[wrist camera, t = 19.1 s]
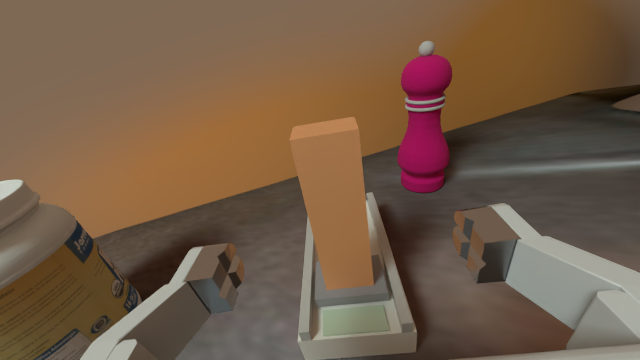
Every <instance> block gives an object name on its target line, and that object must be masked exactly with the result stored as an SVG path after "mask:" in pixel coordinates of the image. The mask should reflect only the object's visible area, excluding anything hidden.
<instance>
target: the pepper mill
mask: <svg viewBox="0 0 640 360" xmlns="http://www.w3.org/2000/svg"><path fill="white" fill-rule="evenodd" d="M434 49H435V46H434V44H433V43H432V42H430V41H425V42H424V43H422V44H421V46H420V47H419V54H420V55H421V56H420V57H417V58H415V59H413V60H412V61H410V62H409V63H408V64H407V65H406V67H405V68H404V70H403V73H402V77H401V85H402V88H403V90H404V91H405V92H406V93H407V95H408V97H406V98H405V101H406V105H405V108H406V109H407V110H408V113H409V121H408V128H407V132H406V134H405V136H404V139H403V141H402V143H401V145H400V148H399V151H398V164H399V166H400V167H401V168H402V169H403V170H402V172H401V183H402V185H403V186H404V187H405V188H406V189H408V190H410V191H413V192H417V193H429V192H434V191H436V190H439V189H440V188H441V187H442V186H443V183H444V172H443V170H444V169H445V168H446V167H447V165H448V163H449V149H448V145H447V143H446V141H445V138H444V136H443V133H442V130H441V125H440V115H441V108H442V107H443V106H445V98H446V95H445V94H444V93H443V92H444V90H445V89H446V88H447V87H448V86H449V84H450V82H451V79H452V68H451V65H450V63H449V62H448V60H447V59H445V58H444V57H442V56H439V55H432V54H433V52H434Z"/></svg>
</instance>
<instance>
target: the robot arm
mask: <svg viewBox="0 0 640 360" xmlns="http://www.w3.org/2000/svg"><path fill="white" fill-rule="evenodd" d="M454 220H455V222H456V223H457V226H456V227H455V228H454V229H453V241H454V245H455V248H456V250H457V252H458V253H459V255H460V256H461V257H463V258H464V259H466V260H467V266H466V267H467V268H468V270H469V272H470V273H471V275H472V276H473V278H474V280H475V281H476V283H477V284H478V283H490V282H501V281H506V282H505V283H507V284H508V285H510V286H511V287H512V288H514V289H515V290H517V291H518V292H520V293H521V294H523V295H524V296H525V297H527V298H528V299H530V300H531V301H533V302H534V303H535V304H537V305H538V306H540V307H541V308H543V309H544V310H546V311H547V312H548V313H550V314H551V315H553V316H554V317H556V318H557V319H558V320H560V321H561V322H563V323H564V324H566V325H567V326H568V327H570V328H571V329H573V330H574V332H573V334H572V336H571V337H570V339H569V341H568V342H567V345H566V349H567V350H561V351H549V352H536V353H524V354H512V355H500V356H487V357H475V358H462V359H450V360H640V273H639V272H636V271H634V270H631V269H629V268H626V267H623V266H621V265H618V264H616V263H613V262H611V261H608V260H606V259H603V258H601V257H598V256H596V255H593V254H591V253H588V252H586V251H583V250H581V249H578V248H576V247H573V246H571V245H568V244H566V243H563V242H561V241H558V240H556V239H553V238H551V237H548V236H544V237H542V236H541V235H540V234H539V233H537V232H536V231H535V230H534V229H533V228H532V227H531V226H530V225H529V224H528V223H527V222H526V221H525V220H524V219H522V218H521V217H520V216H519V215H518V214H517V213H516V212H515V211H514V210H513V209H512V208H511V207H510V206H509V205H507V204H504V203H502V204H496V205H489V206H484V207H478V208H471V209H464V210H457V211H456V213H455V216H454ZM235 252H236V248H235V247H234V245H233V244H232V243H225V244H217V245H208V246H202V247H193V248H192V249H190V250H189V252H188V253H187V255H186V257H185V258H184V260H183V262H182V263H181V265H180V266H179V268H178V270H177V271H176V273H175V275H174V276H173V278H172V280H171V281H170V283H169V284H167V285H164V286H163V287H161V288H160V289H159V290H157V291H156V292H155V293H154V294H152V295H151V296H150V297H149V298H147V299H146V300H145V301H144V302H142V303H141V304H140V305H139V306H137V307H136V308H135V309H134V310H132V311H131V312H130V313H129V314H127V315H126V316H125V317H124V318H122V319H121V320H120V321H119V322H117V323H116V324H115V325H114V326H112V327H111V328H110V329H109V330H107V331H106V332H105V333H103V334H102V335H101V336H100V337H98V338H97V339H96V340H95V341H93V342H92V344H91V345H90V346H89V348H88V349H87V350H86V352H85V353H84V354H83V356H82V357H81V359H80V360H174V359H175V358H176V357H177V356H178V355H179V353H180V352H181V351H182V350H183V349H184V347H185V346H186V345H187V344H188V342H189V341H190V340H191V339H192V338H193V336H194V335H195V334H196V333H197V331H198V330H199V329H200V328H201V327H202V325H203V324H204V323H205V322H206V321H207V319H208V318H209V317H210V316H211V315H210V314H214V313H221V312H228V311H233V309H234V306H235V303H236V300H237V297H238V292H237V290H236V288H237V287H238V286H239V285H240V284H241V283H242V281H243V277H244V265H243V262H242V260H241V258H240V257H238V256H236V255H235Z"/></svg>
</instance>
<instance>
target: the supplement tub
mask: <svg viewBox="0 0 640 360" xmlns="http://www.w3.org/2000/svg"><path fill="white" fill-rule="evenodd" d="M39 200H40V195H39V194H37V193H36V192H34V191H32V190H31V189H30V188H29V187H28V186H27V185H26V184H25V182H23V181H22V180H6V181H1V182H0V360H80V359H81V357H82V356H83V354H84V353H85V352H86V350H87V349H88V348H89V346H90V345H91V344H92V342H93V341H95V340H96V339H97V338H98V337H100V336H101V335H102V334H103V333H105V332H106V331H107V330H109V329H110V328H111V327H112V326H114V325H115V324H116V323H117V322H119V321H120V320H121V319H122V318H124V317H125V316H126V315H127V314H129V313H130V312H131V311H132V310H134V309H135V308H136V307H137V306H139V305H140V304H141V303H142V301H141V297H140V295H139V293H138V291H137V290H136V289H135V288H134V287H133V286H132V285H131V284H130V283H129V281H128V280H127V279H126V278H125V277H124V275H123V274H122V273H121V272H120V271H119V270H118V268H117V267H116V266H115V265H114V264H113V263H112V261H111V260H110V259H109V258H108V257H107V256H106V254H105V253H104V252H103V251H102V250H101V249H100V247H99V246H98V245H97V244H96V243H95V242H94V240H93V239H92V238H91V237H90V236H89V235H88V233H87V232H86V231H85V230H84V229H83V227H81V225H80V224H79V223H78V221H77V220H76V219H75V217H74V216H73V215H71V214H70V213H69V212H68V211H67V210H65V209H64V208H61V207H59V206H56V205H52V204H44V203H39Z"/></svg>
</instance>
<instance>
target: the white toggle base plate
mask: <svg viewBox="0 0 640 360" xmlns="http://www.w3.org/2000/svg"><path fill="white" fill-rule="evenodd" d="M366 196H367V201H366V209H367V219H368V229H369V239H370V250H371V255H379V258H380V262H381V266H382V270H383V274H384V278H385V282H386V286H387V290H388V297H389V300H387V301H377V302H366V303H356V304H345V305H335V306H324V307H317V306H316V302H315V276H316V262H318V261H319V258H318V253H317V249H316V245H315V241H314V237H313V233H312V229H311V225H310V221H309V217H308V220H307V232H306V245H305V257H304V269H303V282H302V294H301V306H300V318H299V331H298V343H299V346H300V348H301V351H302V353H303V356H304V358H305V360H321V359H334V358H348V357H361V356H374V355H387V354H400V353H414V352H416V344H417V330H416V327H415V324H414V321H413V317H412V314H411V311H410V308H409V305H408V302H407V298H406V295H405V292H404V289H403V286H402V283H401V279H400V276H399V273H398V270H397V267H396V264H395V260H394V257H393V254H392V251H391V248H390V245H389V241H388V238H387V235H386V232H385V229H384V226H383V222H382V219H381V216H380V213H379V210H378V207H377V203H376V200H375V199H374V196H373V193H372V192H371V193H366Z"/></svg>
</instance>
